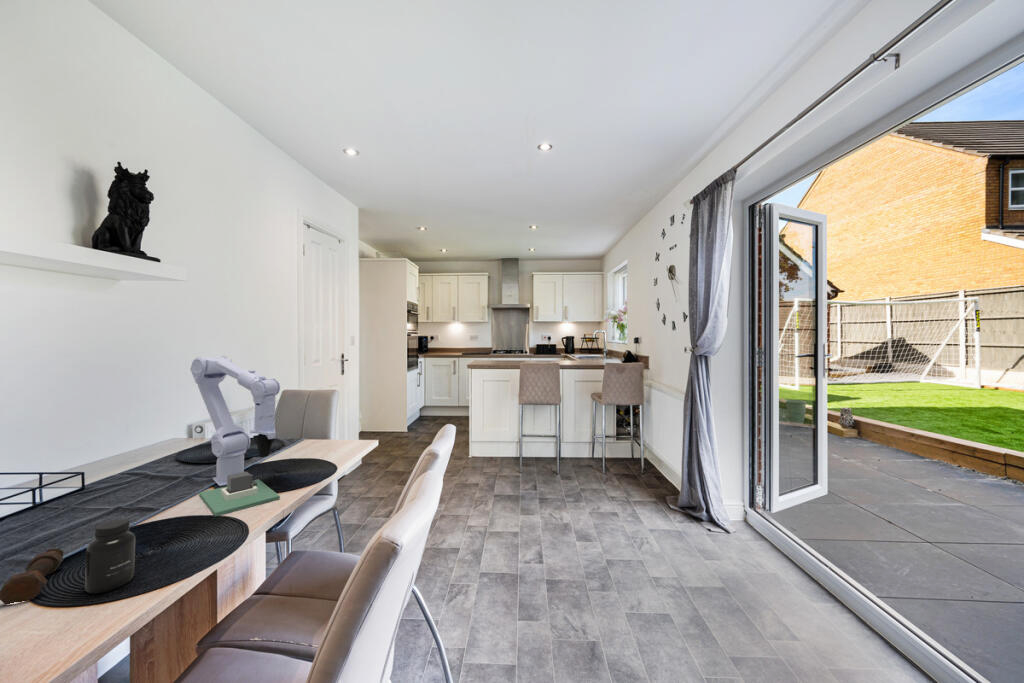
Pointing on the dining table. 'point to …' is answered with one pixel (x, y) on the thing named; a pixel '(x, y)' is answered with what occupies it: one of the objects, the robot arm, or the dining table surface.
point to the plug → (239, 482)
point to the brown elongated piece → (31, 577)
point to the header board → (237, 498)
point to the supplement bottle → (110, 557)
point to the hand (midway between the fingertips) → (264, 456)
